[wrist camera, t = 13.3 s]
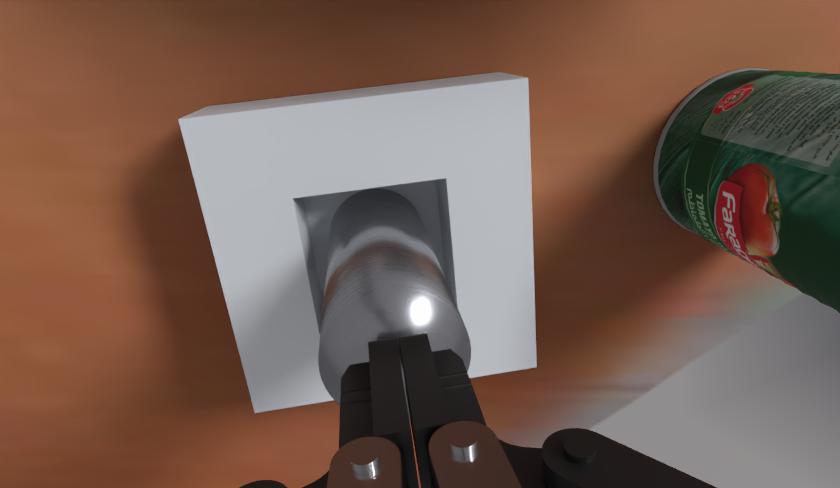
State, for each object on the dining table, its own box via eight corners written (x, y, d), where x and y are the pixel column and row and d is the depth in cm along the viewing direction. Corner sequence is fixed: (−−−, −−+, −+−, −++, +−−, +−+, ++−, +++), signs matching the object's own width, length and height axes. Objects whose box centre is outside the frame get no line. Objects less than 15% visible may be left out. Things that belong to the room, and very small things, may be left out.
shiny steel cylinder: (338, 281, 24) (331, 433, 15) (322, 195, 22) (305, 302, 13) (426, 268, 24) (475, 409, 15) (417, 182, 23) (465, 278, 14)
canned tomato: (622, 206, 26) (806, 315, 15) (706, 40, 23) (987, 37, 13) (754, 254, 27) (996, 380, 17) (843, 105, 25) (1184, 146, 15)
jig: (271, 374, 26) (258, 428, 23) (207, 106, 22) (178, 119, 18) (511, 336, 27) (537, 382, 24) (498, 71, 23) (528, 77, 19)
